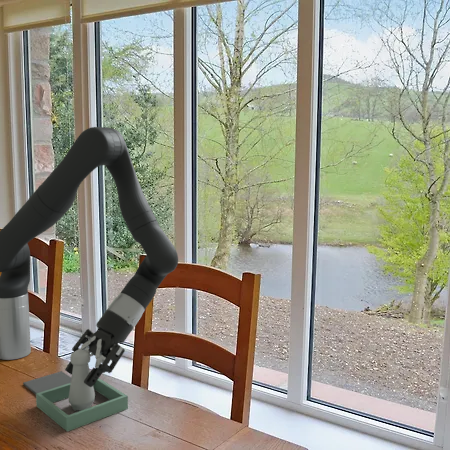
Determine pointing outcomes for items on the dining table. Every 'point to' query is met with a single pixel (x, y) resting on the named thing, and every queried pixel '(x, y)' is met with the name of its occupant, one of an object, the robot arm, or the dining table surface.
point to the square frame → (87, 415)
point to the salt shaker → (80, 382)
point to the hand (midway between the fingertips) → (77, 378)
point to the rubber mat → (47, 382)
